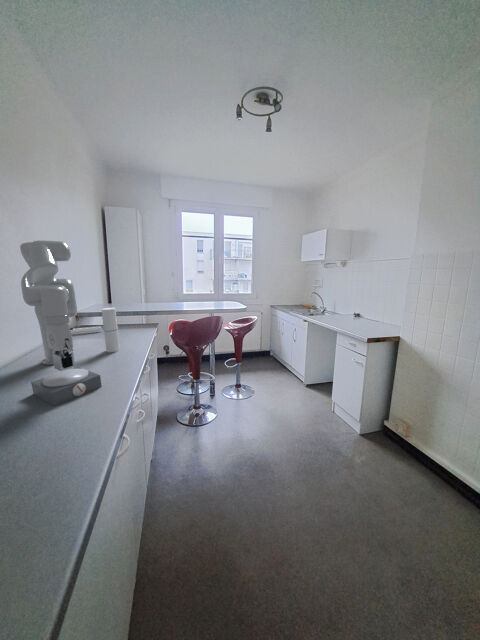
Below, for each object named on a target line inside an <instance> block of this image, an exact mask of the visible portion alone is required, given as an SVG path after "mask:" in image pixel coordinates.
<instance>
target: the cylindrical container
mask: <svg viewBox="0 0 480 640" xmlns="http://www.w3.org/2000/svg"><path fill="white" fill-rule="evenodd" d="M101 316H102V325H103V333H104V341H105V342H104V343H105V349H106V350H105V351H106V352H107V353H116V352H119V351H121V347H120V340H119V339H120V337H119V331H118V329H119V328H118V321H117V320H118V319H117V310H116V307H105V308H101Z"/></svg>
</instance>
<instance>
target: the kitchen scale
mask: <svg viewBox="0 0 480 640" xmlns="http://www.w3.org/2000/svg"><path fill="white" fill-rule="evenodd" d="M30 384H31V389H32V393H33V394H32V395H35V396H37V397H38V398H40V399H41V400H44V401H45V402H47V403H49V404H50V405H53V406H55V407H56V406H57V405H60V404H63V403H65V402H68V401H69V400H72V399H74V398H77V397H79V396H83V395H84V394H86V393H89V392H92V391H94V390H97V389H99V388H101V387H102V380H101V375H100V374H98V373H95V372H93V371H90V370H88V369H86V368H81V367H78V366H77V367H72V368H69V369H66V370H63V371H60V370H58V371H57V372H54V373H51V374H49V375H47V376H45V377H42V378H39V379H36V380H33V381H30Z"/></svg>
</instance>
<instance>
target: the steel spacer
mask: <svg viewBox="0 0 480 640" xmlns="http://www.w3.org/2000/svg"><path fill="white" fill-rule="evenodd" d="M64 352H65V353H66V352H67V351H64ZM52 356H53V362H54V364H53V365H54V366H53V367H54V369H55V370H57V371H63V370H69V369H73V368H76V362H75V357H74V356H75V355H74V351H73V352H72V361H73V366H71V367H68V368H63V362H62V358H63V356H62V353H61V352H57V353H53V354H52Z"/></svg>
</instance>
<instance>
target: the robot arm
mask: <svg viewBox="0 0 480 640" xmlns="http://www.w3.org/2000/svg"><path fill="white" fill-rule="evenodd" d="M19 248H20V249H19V250H20V253H21V256H22V257H23V259H24V261H25V262H26V263H27V265H28V267H29V269H28V270H27V271H26V272H25V273H24V274H23V276H22V277H21V281H20V286H21V294H22V298H23V301H24V302H25V304H26V305H27V306H30V307H34V313H35V315H36V318H37V321H38V325H39V329H40V335H41V340H42V345H43V351H44V356H45V358H44V359H43V360H41V362H42V363H41V364H43V365H44V366H45V365H47V366H49V365H51V366H52V365H54V362H53V356H52V354H53V353H57V352H61V353H62V356H63V358H62V362H63V368H68V367H71V366H73V361H72V352H73V353H74V349H73V347H74V341H73V337H72V332H71V328H70V323H71V321H70V318H75V317H77V315H78V307H77V306H78V305H77V300H76V293H75V287H74V283H73V282H72V280H70V279H68V278H56V277H55V275H57V274H58V272H59V267H58V262H69V261H70V259H71V254H72V252H71V249H70V247H69V245H68V244H67V243H66V242H64V241H57V240H56V241H55V240H34V241H26V242H23V243H21V244H20V246H19ZM64 351H67V352H66V353H65V352H64Z"/></svg>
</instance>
